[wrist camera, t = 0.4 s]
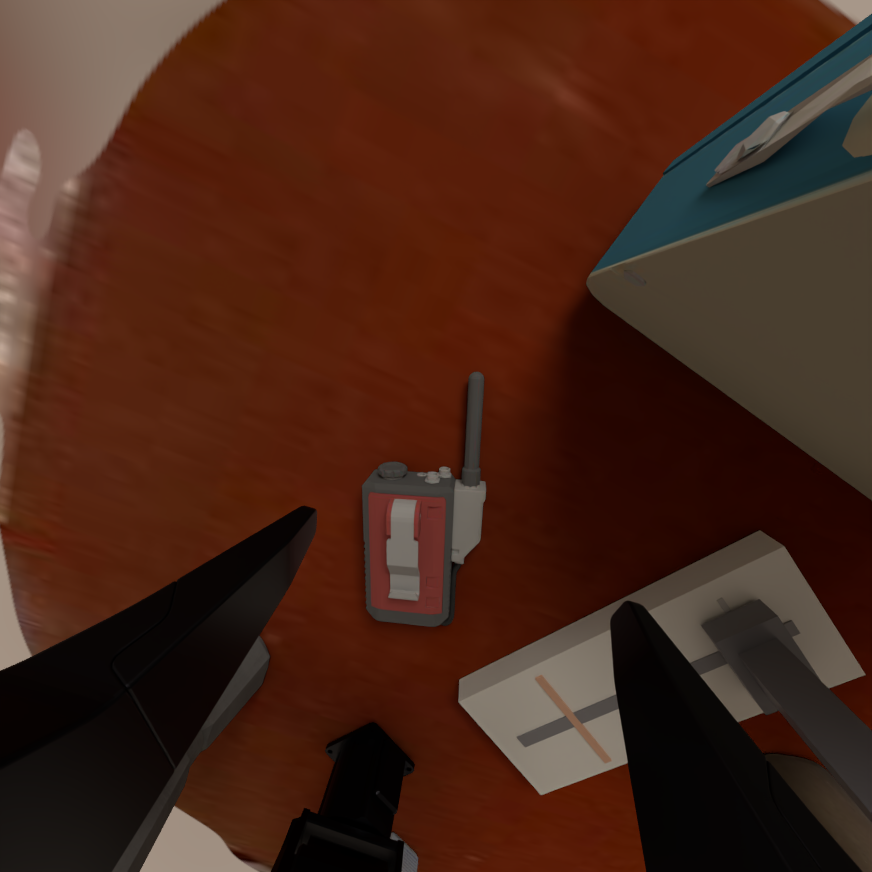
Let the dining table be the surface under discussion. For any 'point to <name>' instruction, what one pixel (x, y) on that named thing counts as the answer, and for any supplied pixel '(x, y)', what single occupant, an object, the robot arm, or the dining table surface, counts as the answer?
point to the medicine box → (407, 856)
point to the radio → (769, 258)
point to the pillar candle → (828, 805)
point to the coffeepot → (197, 753)
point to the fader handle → (796, 694)
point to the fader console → (593, 666)
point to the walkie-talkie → (422, 531)
